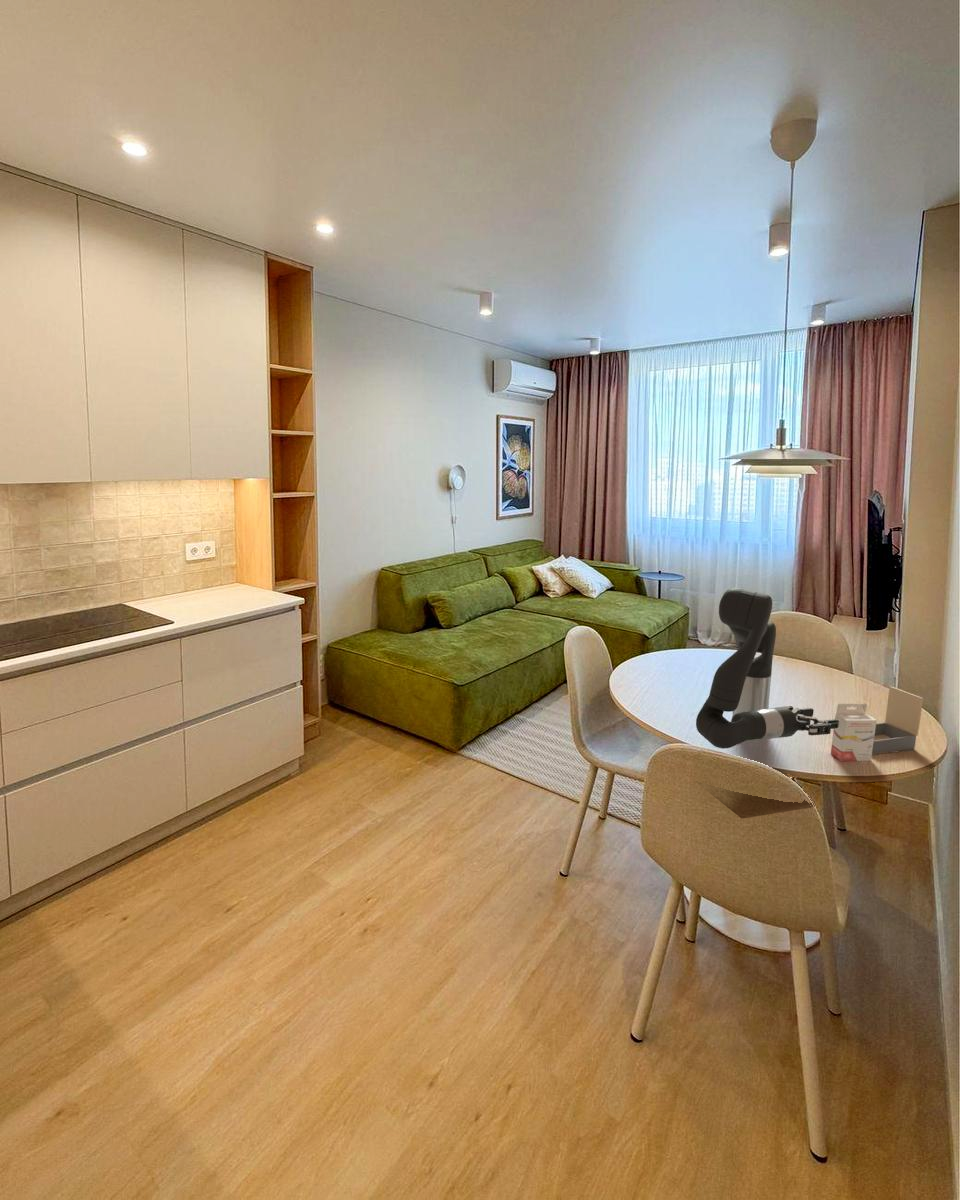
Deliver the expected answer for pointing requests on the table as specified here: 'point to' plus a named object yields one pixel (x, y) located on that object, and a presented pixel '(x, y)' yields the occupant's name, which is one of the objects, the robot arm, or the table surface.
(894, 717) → the mailer box
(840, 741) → the ink cartridge box
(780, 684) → the table surface
